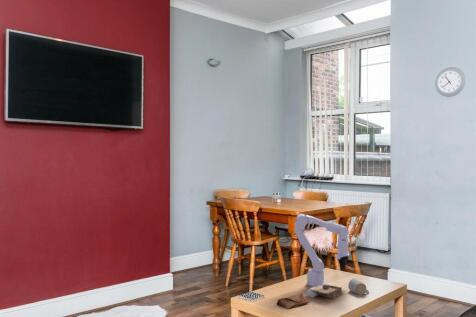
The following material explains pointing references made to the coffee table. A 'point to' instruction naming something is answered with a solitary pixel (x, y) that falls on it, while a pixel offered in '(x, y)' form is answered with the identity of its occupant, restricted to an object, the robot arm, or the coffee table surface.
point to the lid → (324, 289)
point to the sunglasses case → (292, 301)
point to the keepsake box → (333, 294)
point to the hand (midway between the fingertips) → (342, 269)
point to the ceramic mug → (357, 287)
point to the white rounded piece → (311, 293)
